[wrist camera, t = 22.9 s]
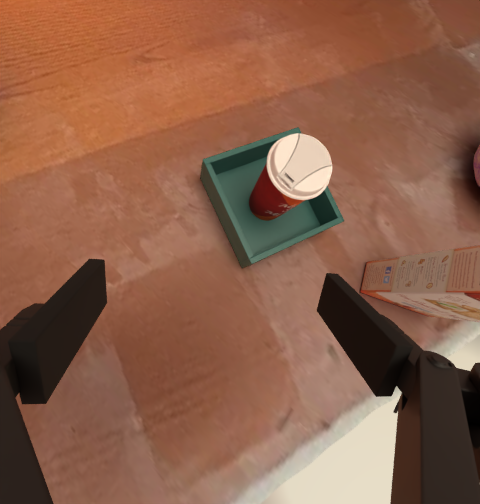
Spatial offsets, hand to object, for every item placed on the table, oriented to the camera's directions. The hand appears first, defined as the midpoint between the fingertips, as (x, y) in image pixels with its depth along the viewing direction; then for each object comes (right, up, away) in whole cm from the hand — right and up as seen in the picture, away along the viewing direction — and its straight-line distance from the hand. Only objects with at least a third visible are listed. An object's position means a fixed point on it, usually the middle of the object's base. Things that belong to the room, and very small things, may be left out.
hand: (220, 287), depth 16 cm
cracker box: (+28, -5, +30) cm, 42 cm away
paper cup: (+5, +10, +27) cm, 29 cm away
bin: (+5, +10, +27) cm, 30 cm away
